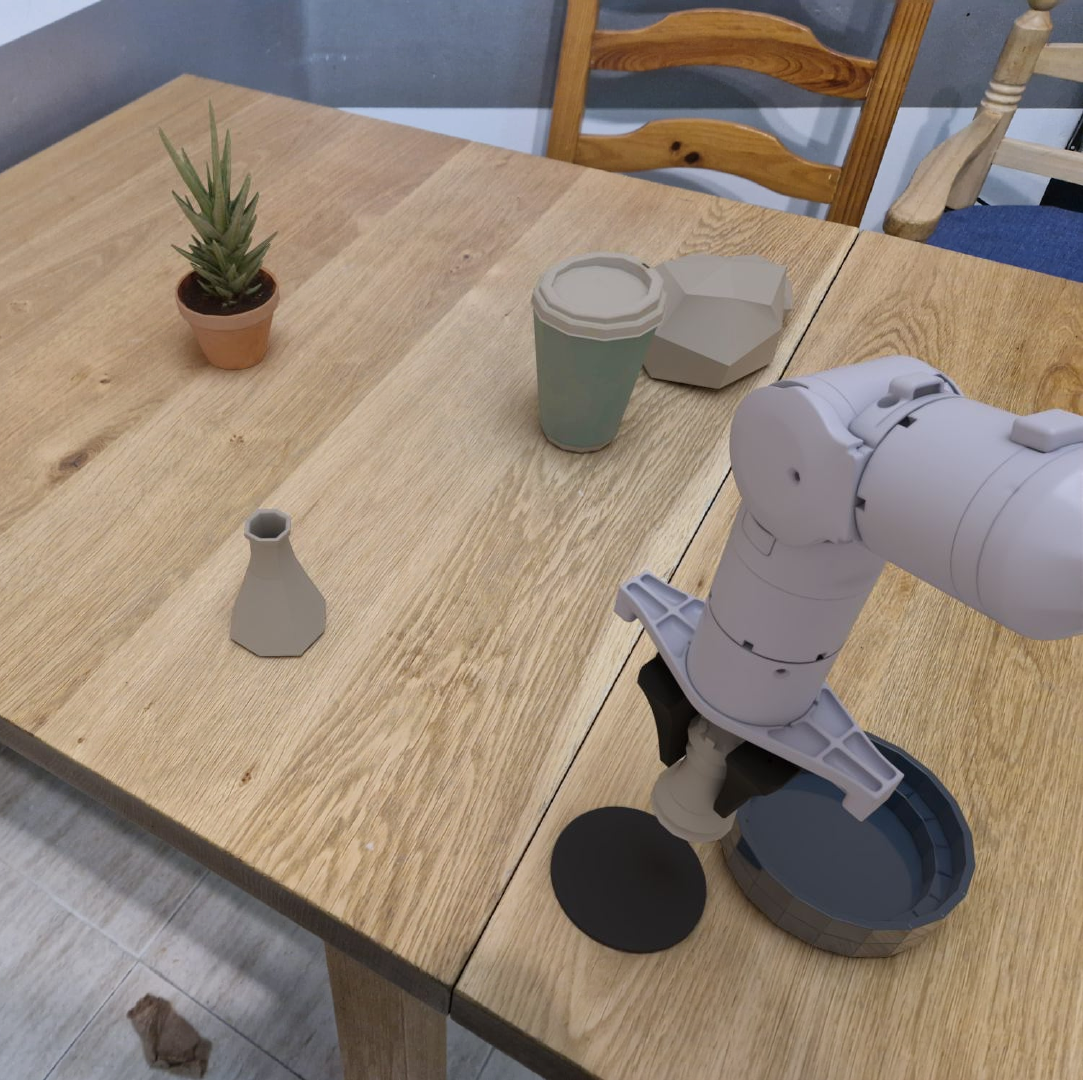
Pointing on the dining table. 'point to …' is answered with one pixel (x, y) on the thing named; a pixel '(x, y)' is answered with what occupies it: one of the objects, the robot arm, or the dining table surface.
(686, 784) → the rook chess piece
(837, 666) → the dining table surface
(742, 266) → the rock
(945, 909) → the bowl
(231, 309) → the potted plant
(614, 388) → the disposable coffee cup
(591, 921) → the coaster
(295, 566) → the flask
